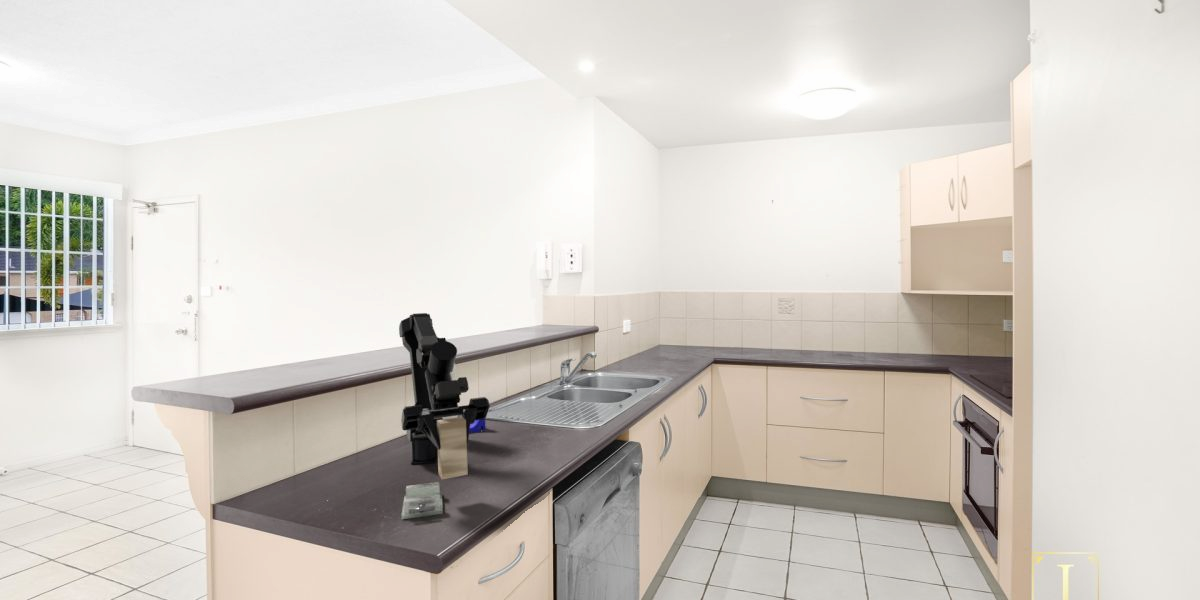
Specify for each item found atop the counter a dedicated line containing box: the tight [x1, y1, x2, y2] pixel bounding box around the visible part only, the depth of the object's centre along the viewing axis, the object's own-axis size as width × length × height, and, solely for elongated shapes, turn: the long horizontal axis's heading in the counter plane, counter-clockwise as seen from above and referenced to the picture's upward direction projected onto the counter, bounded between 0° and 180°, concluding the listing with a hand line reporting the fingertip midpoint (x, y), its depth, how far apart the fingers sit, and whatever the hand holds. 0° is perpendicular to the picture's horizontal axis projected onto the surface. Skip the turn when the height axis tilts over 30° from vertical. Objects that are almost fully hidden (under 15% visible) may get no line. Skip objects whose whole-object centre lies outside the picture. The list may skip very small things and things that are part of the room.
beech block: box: [437, 416, 469, 480], centre depth 121 cm, size 4×6×12 cm, turn 118°
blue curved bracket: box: [469, 418, 487, 434], centre depth 178 cm, size 12×4×6 cm, turn 120°
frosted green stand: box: [401, 481, 444, 520], centre depth 118 cm, size 13×8×3 cm, turn 17°
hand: (453, 446), depth 120 cm, fingers closed on beech block, 5 cm apart
